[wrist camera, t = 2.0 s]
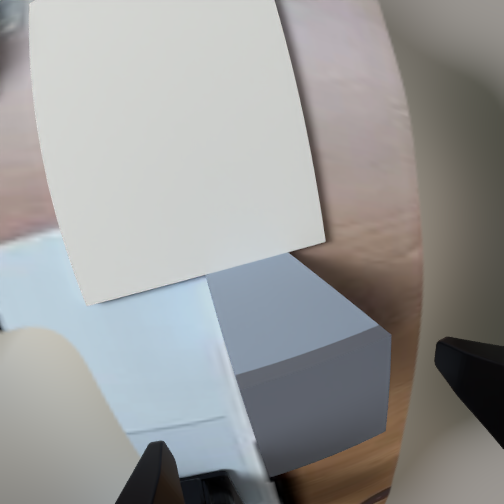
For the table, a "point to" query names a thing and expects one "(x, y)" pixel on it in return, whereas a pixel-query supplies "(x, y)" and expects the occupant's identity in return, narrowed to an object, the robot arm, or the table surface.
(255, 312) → the block
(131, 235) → the mat
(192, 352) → the table surface
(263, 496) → the table surface
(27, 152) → the table surface
